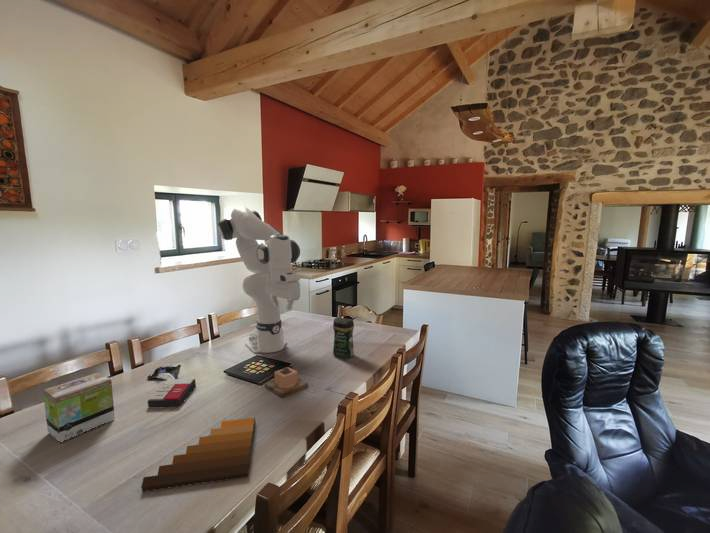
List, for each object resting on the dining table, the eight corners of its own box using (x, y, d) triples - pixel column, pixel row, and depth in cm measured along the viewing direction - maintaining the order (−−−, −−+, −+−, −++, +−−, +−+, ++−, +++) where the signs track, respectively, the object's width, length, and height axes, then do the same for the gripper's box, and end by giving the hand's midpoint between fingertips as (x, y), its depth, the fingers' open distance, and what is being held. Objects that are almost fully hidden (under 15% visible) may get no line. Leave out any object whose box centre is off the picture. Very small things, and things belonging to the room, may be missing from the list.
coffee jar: (330, 356, 169) (330, 319, 166) (339, 351, 176) (338, 314, 173) (348, 360, 165) (348, 322, 162) (356, 354, 171) (356, 317, 169)
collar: (274, 382, 140) (274, 371, 139) (288, 377, 144) (288, 366, 144) (284, 388, 135) (283, 377, 135) (297, 382, 140) (297, 371, 139)
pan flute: (142, 494, 87) (247, 480, 92) (140, 482, 87) (247, 468, 91) (172, 433, 111) (255, 424, 116) (171, 423, 111) (254, 414, 116)
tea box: (60, 444, 105) (54, 398, 103) (47, 433, 110) (41, 389, 108) (116, 420, 118) (111, 378, 116) (102, 411, 123) (97, 370, 121)
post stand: (264, 386, 140) (264, 367, 139) (290, 376, 148) (289, 358, 147) (282, 397, 132) (281, 377, 130) (308, 386, 140) (307, 367, 139)
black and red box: (146, 399, 124) (166, 377, 139) (148, 410, 125) (167, 387, 140) (178, 398, 125) (195, 377, 140) (180, 409, 126) (196, 386, 140)
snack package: (154, 387, 141) (184, 377, 149) (151, 371, 140) (182, 362, 148) (145, 382, 149) (175, 372, 157) (142, 367, 149) (172, 358, 157)
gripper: (260, 272, 150) (262, 304, 152) (289, 278, 135) (290, 313, 138) (273, 270, 154) (274, 301, 156) (302, 276, 140) (303, 310, 142)
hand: (282, 307), depth 147 cm, fingers open, 8 cm apart
